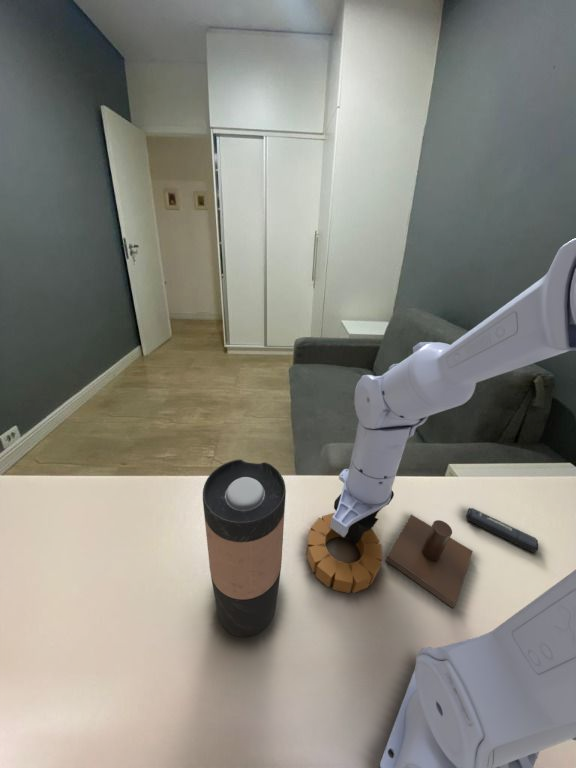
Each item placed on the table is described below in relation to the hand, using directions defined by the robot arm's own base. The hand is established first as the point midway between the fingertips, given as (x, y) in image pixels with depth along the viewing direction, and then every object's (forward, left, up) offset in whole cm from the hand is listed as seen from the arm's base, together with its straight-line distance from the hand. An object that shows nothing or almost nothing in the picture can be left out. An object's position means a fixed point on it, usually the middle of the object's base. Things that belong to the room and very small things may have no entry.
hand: (356, 530), depth 45 cm
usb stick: (+16, -16, -2) cm, 23 cm away
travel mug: (-17, +6, -2) cm, 18 cm away
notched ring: (-4, 0, -1) cm, 4 cm away
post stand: (+4, -9, -1) cm, 10 cm away
